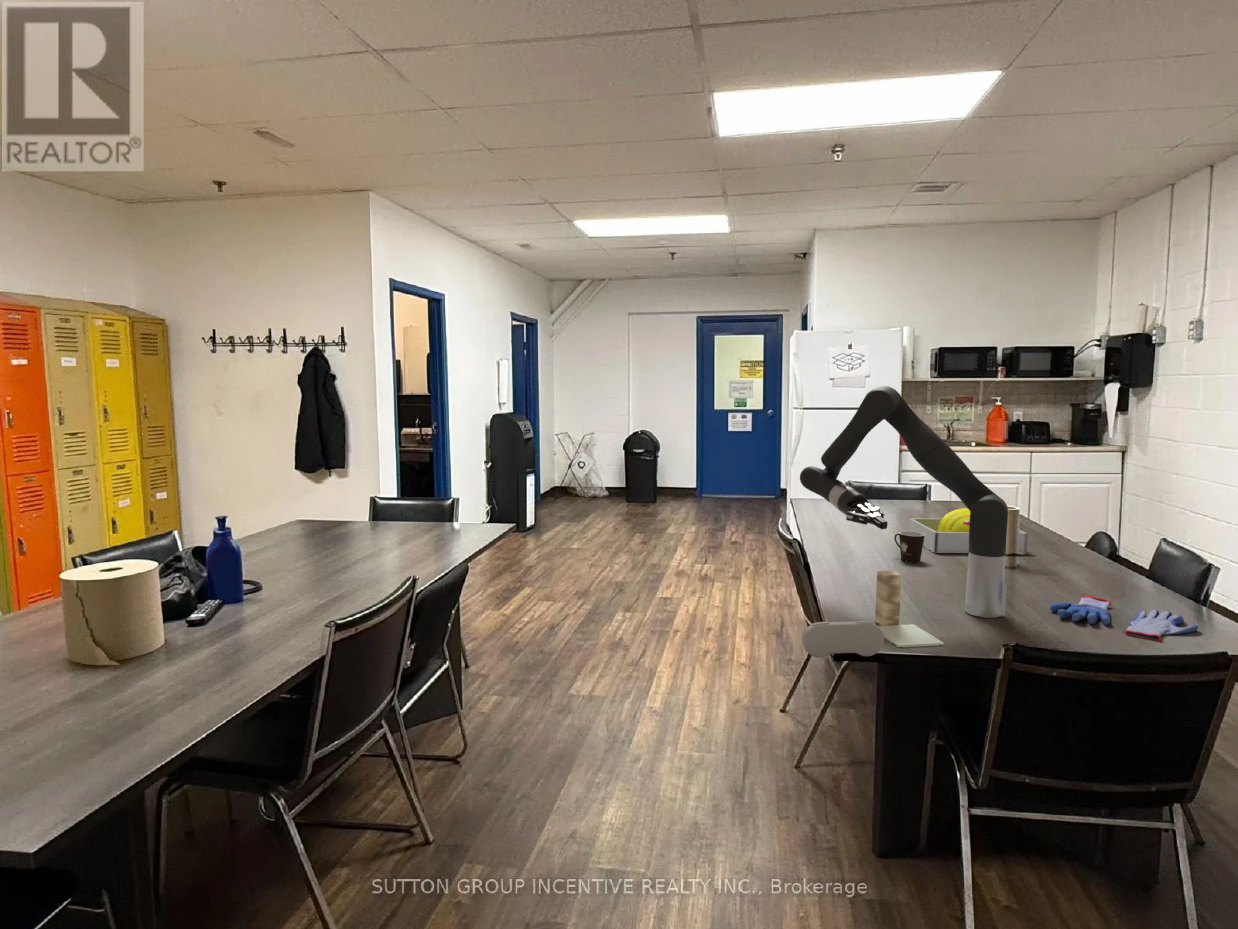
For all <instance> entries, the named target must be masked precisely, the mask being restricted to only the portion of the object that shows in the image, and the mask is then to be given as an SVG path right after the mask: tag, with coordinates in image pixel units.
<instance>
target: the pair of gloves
mask: <svg viewBox="0 0 1238 929" xmlns="http://www.w3.org/2000/svg"><path fill="white" fill-rule="evenodd" d="M1111 604H1112V602H1111V600H1110V599H1106V598H1100V597H1098V596H1097V597H1096V596H1094V595H1092V594H1090V595H1085V596H1081V597H1080V601H1079V602H1078V604H1076V603H1075V604H1074V603H1072V602H1054V603H1052V604H1050V606H1049V610H1050V611H1051V612H1053V613H1057V616H1058V617H1060V618H1061V619H1069V618H1071V621H1073V622H1079V621H1083V620H1084V619H1086V620H1087V622H1088V623H1089V624H1090V625H1095V624H1097V623H1098V622H1099V621H1100V622H1102V624H1103V625H1105V626H1108V625H1110V624H1111V617H1110V611H1109V610H1108V609H1109V607H1110V606H1111ZM1145 616H1146V617H1145ZM1183 622H1184V623H1185V620H1184V617H1183V616H1182V615H1180V614H1172V612H1171V611H1170V610H1165V611H1164V610H1163V612H1159V610H1157V609H1155V608H1154V609H1152V610H1151V611H1149V612H1148V614H1147V613H1146V610H1143V609H1142V610H1139V611H1138V612H1137V613H1136V615H1135V616H1133V618H1132V619H1131V621H1130V622H1129V626H1127V628H1126V629H1125V630H1124V634H1126V635H1127V636H1132V637H1136V638H1141V639H1145V640H1149V641H1151V640H1152V641H1155V642H1160V641H1162V642H1164V639H1162V637H1161V636H1162V635H1163V636H1165V635H1166V636H1167V635H1169V636H1173V635H1172V634H1178V635H1180V634H1179V633H1186V634H1190V633H1189V632H1192V633H1194V632H1193V631H1196V630H1197V631H1198V629H1199V626H1198V625H1197V624H1195V623H1193V624H1191V625H1189V626H1185V627H1178V626H1177V625H1179V624H1184V623H1183ZM1197 631H1196V632H1197Z"/></svg>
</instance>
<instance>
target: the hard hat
mask: <svg viewBox="0 0 1238 929" xmlns="http://www.w3.org/2000/svg"><path fill="white" fill-rule="evenodd" d="M940 519H941V521H940V522H939V525H938V529H937V532H969V524H970V511H969V509H968V508H967V507H966V508H965V507H964V508H958V509H955V510H952V511H950V512H947V513H946V514H944V516H943V517H941V518H940Z"/></svg>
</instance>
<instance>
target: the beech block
mask: <svg viewBox="0 0 1238 929" xmlns="http://www.w3.org/2000/svg"><path fill="white" fill-rule="evenodd" d="M876 573H877V574H876V592H875V611H874V612H875V616H874V623H877V624H878V623H879V624H878V625H879V626H889V625H900V617H901V616H900V615H901V614H900V613H901V596H902V595H901V594H902V591H901V590H902V576H903V575H902V574H900V573H899V572H897V571H895V570H877V572H876Z"/></svg>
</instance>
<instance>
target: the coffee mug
mask: <svg viewBox="0 0 1238 929" xmlns="http://www.w3.org/2000/svg"><path fill="white" fill-rule="evenodd" d="M897 537H899V542H898V541H897ZM924 537H925V534H923V533H920V532H913V531H908V530H907V531H899V533H896V534H894V542H895V544H896V545H897V546H898V548H899V549H900V561H901V560H902V562H903V561H907V562H919V561H920V562H921V559H922V552H923V548H924V547H923V543H924ZM907 562H906V563H907ZM920 562H919V563H920Z"/></svg>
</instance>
